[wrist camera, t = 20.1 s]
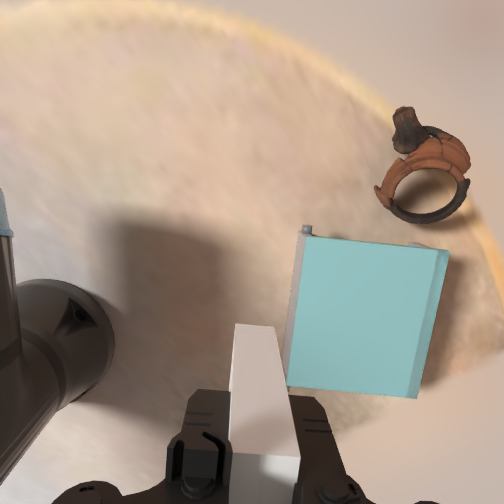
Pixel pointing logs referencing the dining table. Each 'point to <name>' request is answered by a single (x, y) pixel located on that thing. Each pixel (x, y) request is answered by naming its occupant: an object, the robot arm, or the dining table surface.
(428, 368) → the dining table surface
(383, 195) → the brown ring with stub
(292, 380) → the cover
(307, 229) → the channel
